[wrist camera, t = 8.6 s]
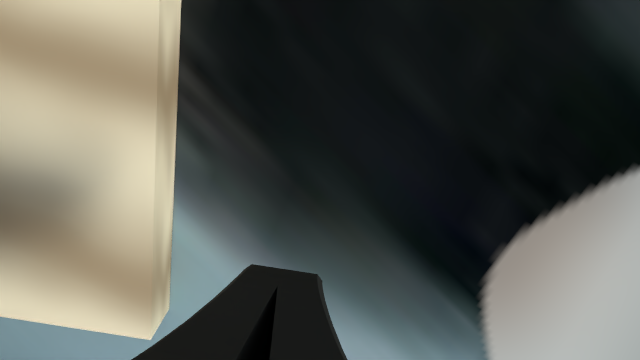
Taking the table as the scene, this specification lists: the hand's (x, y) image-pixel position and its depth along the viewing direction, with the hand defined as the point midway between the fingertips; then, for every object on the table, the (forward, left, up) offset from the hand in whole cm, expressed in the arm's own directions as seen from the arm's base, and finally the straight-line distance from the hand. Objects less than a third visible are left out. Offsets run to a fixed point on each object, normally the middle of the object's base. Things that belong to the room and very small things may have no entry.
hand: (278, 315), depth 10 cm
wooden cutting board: (+3, +15, -9) cm, 18 cm away
